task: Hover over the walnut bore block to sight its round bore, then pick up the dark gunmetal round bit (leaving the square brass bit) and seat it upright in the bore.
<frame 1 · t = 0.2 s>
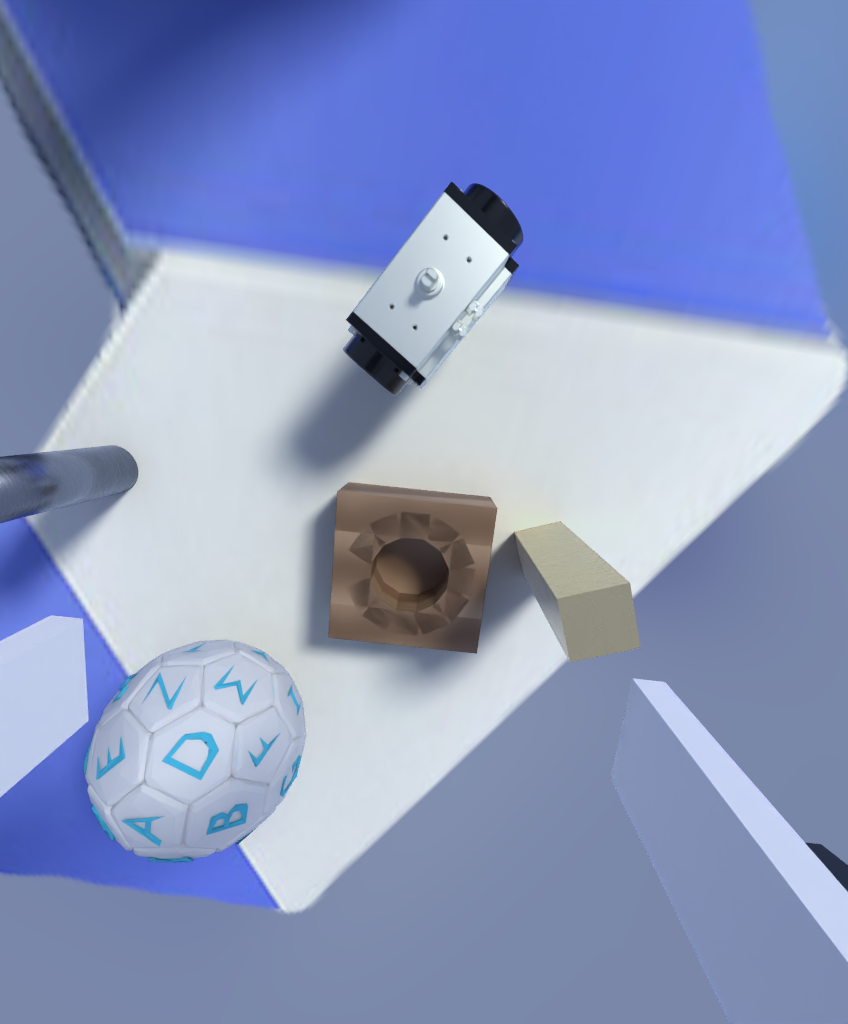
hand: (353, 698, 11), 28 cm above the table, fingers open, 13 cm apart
round bit: (114, 469, 38), on the table
puzzle ball: (246, 683, 43), on the table
pneumatic valve: (436, 326, 35), on the table
bore block: (412, 557, 39), on the table
square bit: (541, 548, 39), on the table
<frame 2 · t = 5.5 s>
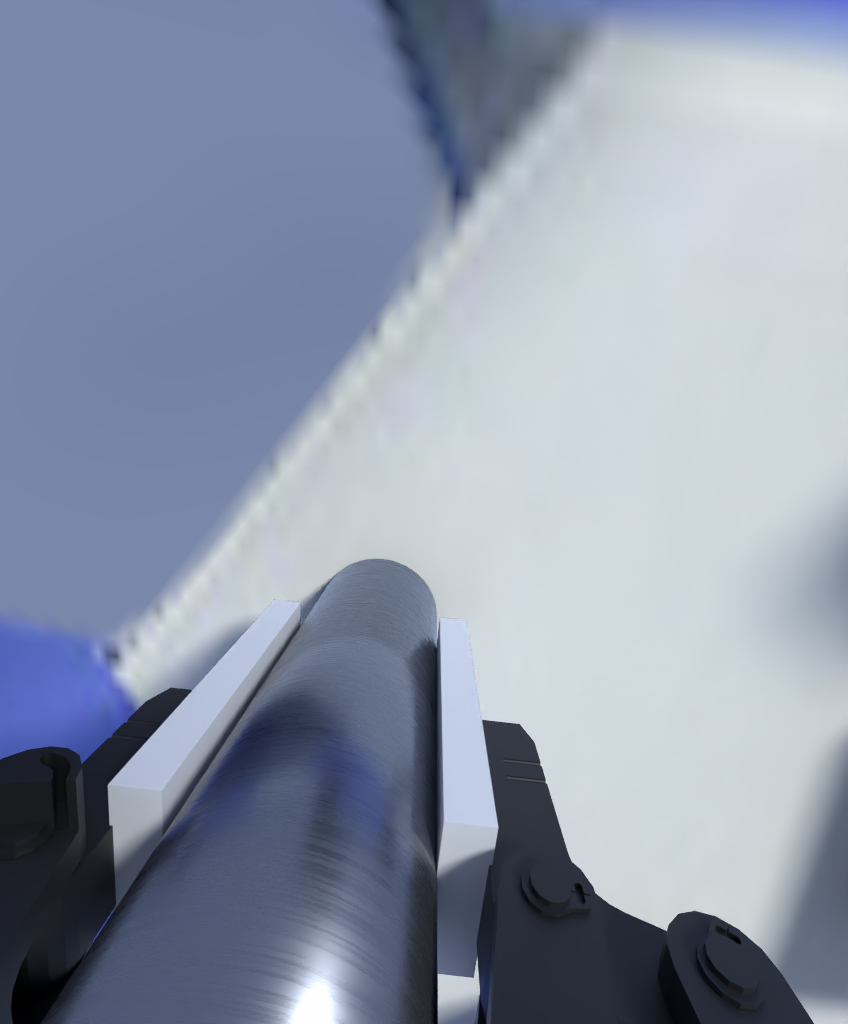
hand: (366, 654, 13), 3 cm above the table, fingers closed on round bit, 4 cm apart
round bit: (378, 614, 15), on the table, touching gripper
when the fingers open (6 cm above the table, at t = 11.1 s): round bit drops 2 cm, resting on bore block.
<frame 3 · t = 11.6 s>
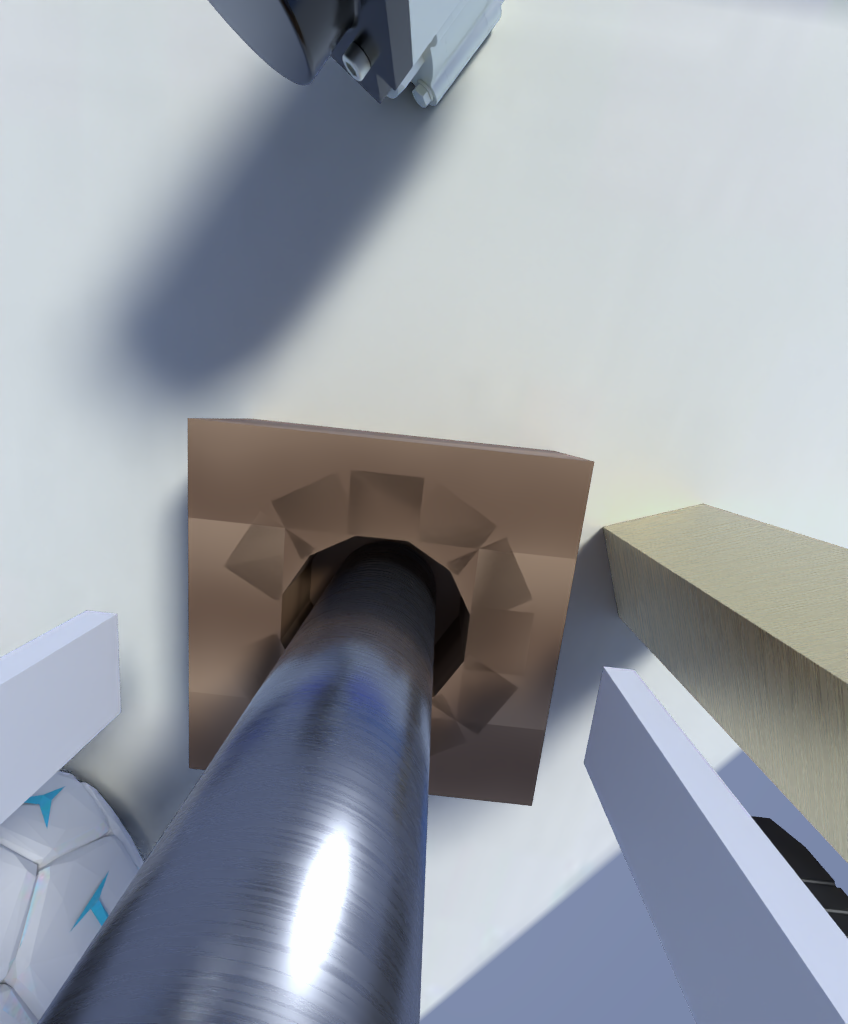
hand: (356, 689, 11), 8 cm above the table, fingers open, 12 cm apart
round bit: (385, 589, 18), point 1 cm above the table, touching bore block
puzzle ball: (70, 821, 22), on the table
pneumatic valve: (438, 46, 15), on the table
bore block: (388, 579, 19), on the table
square bit: (659, 561, 18), on the table
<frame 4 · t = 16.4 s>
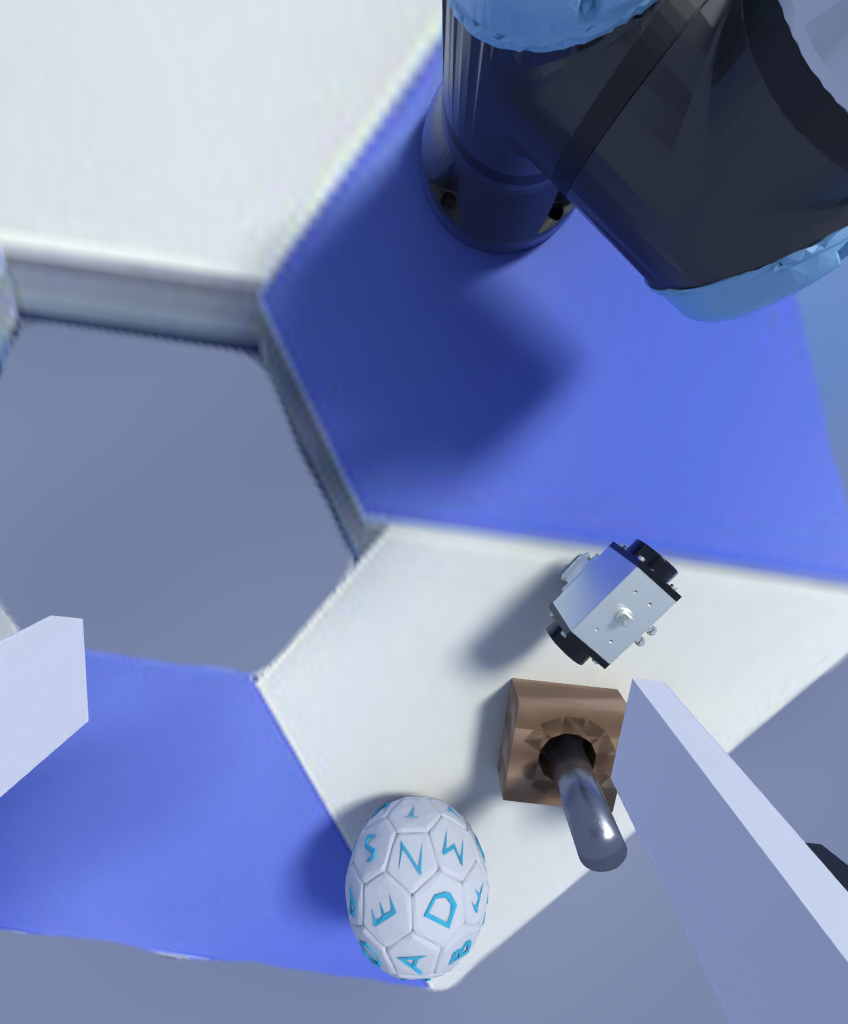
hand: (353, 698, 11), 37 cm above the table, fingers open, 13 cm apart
round bit: (558, 736, 51), point 1 cm above the table, touching bore block
puzzle ball: (419, 817, 55), on the table
pneumatic valve: (584, 575, 48), on the table
bore block: (556, 730, 52), on the table
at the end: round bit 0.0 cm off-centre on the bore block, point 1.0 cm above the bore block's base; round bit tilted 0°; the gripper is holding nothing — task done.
